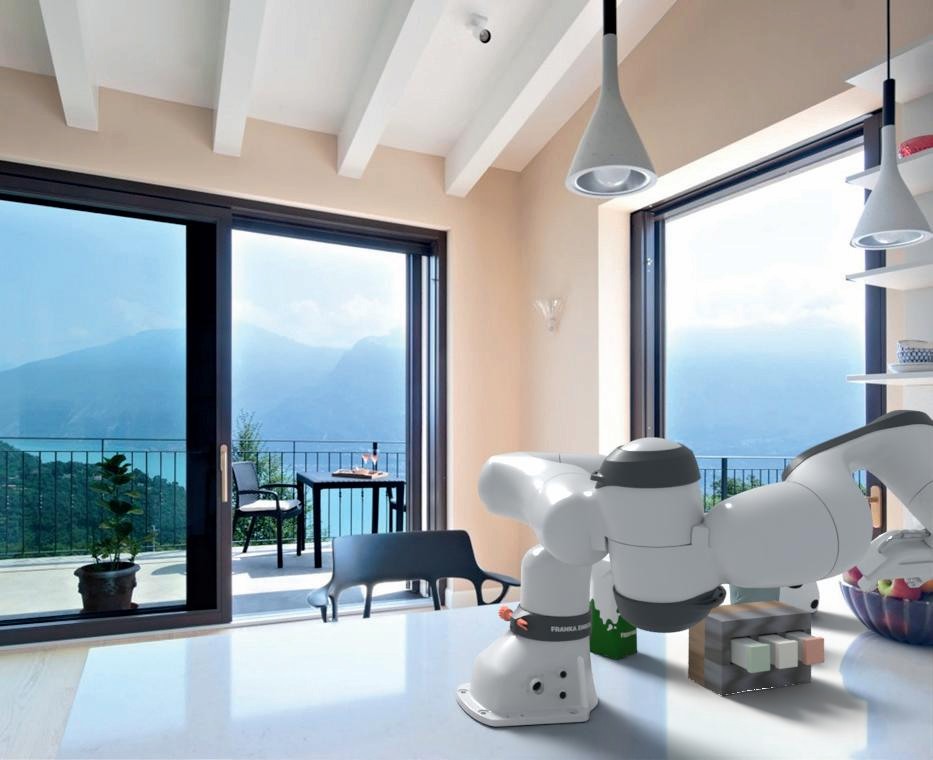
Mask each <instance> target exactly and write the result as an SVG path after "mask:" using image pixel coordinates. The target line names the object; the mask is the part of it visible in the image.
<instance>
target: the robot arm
mask: <svg viewBox="0 0 933 760" xmlns="http://www.w3.org/2000/svg"><path fill="white" fill-rule="evenodd" d="M863 469H864V470H866V471H867V472H869V473H871V474H872V475H873V476H875V478H877V479H878V480H879V481H880V482H881V483H882V484H883V485H884V486H885V487H886V488H887V489H888V490H889V491H890V493H892V494H893V495H894V496H895V497H896V498H897V500H899V501H900V502H901V503H902V505H903V506H904V507H905V508H906V509H907V510H908V511H909V512H910V513H911V515H912V517H911V518H912V519H911V521H912V525H913V528H908V529H907V528H905V529H904V528H903V529H891V530H887V531H886V532H884V533H882V534H881V533H880V535H878V536H877V537H875V538H874V539H873V534H874V519H873V513H872V510H871V507H870V503H869V502H868V500H867V498H866V497H865V495H864V493H863V491H862V490H861V488H860V487H859V485H858V483H857V482H856V480H855V478H854V476H853V474H854V473H857V472H859V471H861V470H863ZM701 479H702V476H701V471H700V468H699V464H698V461H697V458H696V455H695V453H694V452H693V450H692V449H690V448H689V447H688V446H686V445H684V444H683V443H680V442H675V441H672V440H670V439H666V438H661V437H652V436H651V437H642V438H641V437H640V438H637V439H634V440H632V441H629V442H627V443H626V444H621V445H619V446H617V447H616V448H614V449H613V450H612V451H611V452H610V453H609V454H608V455H604V454H599V453H583V452H582V453H579V452H578V453H577V452H576V453H575V452H548V451H547V452H545V451H543V452H542V451H514V452H513V451H512V452H505V453H499V454H495V455H492V456H490V457H489V458H488V459H487V460H486V461H485V463H484V464H483V466H482V467H481V470H480V472H479V475H478V480H477V490H478V496H479V499H480V501H481V503H482V505H483V506H484V508H485V509H486V510H487V512H489V513H490V514H493V515H496V516H499V517H503V518H507V519H510V520H514V521H516V522H518V523H519V522H520V524H521V523H522V524H524V525H526V526H528V527H530V528H532V530H533V531H534V534H535V536H536V539H537V540H538V542H539V543H538V544H535V545H534V546H532V547H531V548H530V549H528V550H527V551H526V553H525V554H524V556H523V557H522V560H521V563H520V564H521V568H520V571H521V572H520V600H519V604H518V605H517V607H516V609H514V611H513V609H511V608H509V607H508V606H506V605H502V606H501V607H500V608H499V609H498V612H497V613H498V616H499V618H500V619H502V620H503V621H505V622H509V629H508V630H506V631H505V632H504V633H503V634H501V635H500V637H498V638H497V639H495V641H494V642H492V643H491V644H490V645H488V646H487V647H486V648H485V649H484V650H482V651H481V652H480V653H478V655H477V656H476V658H475V659H474V662H473V663H474V664H473V667H472V672H471V677H470V682H466V683H462V684H459V685H458V686H457V688H456V695H455V696H456V700H457V703H458V704H459V705H460V707H461V709H463V710H464V712H466V714H468V715H469V716H470V717H472V718H473V719H474V720H476V721H477V722H480V723H482V724H485V725H487V726H492V727H511V726H526V725H527V726H529V725H546V724H561V723H562V724H564V723H581V722H582V723H583V722H587V721H588V720H589V719H590V713H591V711H592V710H594V708H596V706H598V703H599V697H598V695H597V694H598V693H597V691H596V686H595V682H594V678H593V676H594V674H593V669H592V658H591V651H590V639H591V634H592V610H591V609H590V608H589V597H590V581H591V572H592V564H595V563H597V562H599V561H601V560H602V559H603V558H604V557H606V556H607V555H608V553H609V557H610V564H611V569H612V575H613V580H614V586H613V594H614V598H615V601H616V605H617V607H618V610H619V612H620V615H621V617H622V618H623V619H624V620H626V621H627V622H628V623H630V624H631V625H633V626H634V627H636V628H637V629H639V630H642V631H645V632H650V633H658V634H672V633H679V632H685V631H687V630H689V628H691V627H693V626H695V625H696V624H698V623H699V622H700V621H702V620H703V619H704V618H706V617H707V616H708V614H709V613H710V611H711V610H712V609H713V608H715V607H717V606H720V605H723V603H724V602H725V600H726V596H727V594H728V593H727V590H726V588H725V587H724V586H723V585H729V584H731V585H735V586H738V587H743V588H778V587H789V586H796V585H802V584H807V583H811V582H815V581H816V582H819V581H823V580H828V579H831V578H833V577H836V576H840V575H842V574H844V573H846V572H848V571H849V570H852V569H853V568H855V567H856V568H857V570H858V571H859V572H860V574H862V577H861V578H860V579H859V580H858V581H857V586H858V587H859V588H860V590H861V591H862V592H864V593H866V592H874V591H875V590H876V589H877V588H878V587H879V586H880V585H879V583H878V581H885V580H895V579H896V580H898V579H903V581H904V582H905V584H907V586H908V588H911V589H912V588H913V589H914V588H920V587H921V586H923V585H924V584H925V583H927V582H930V581H931V580H933V418H931V417H930V416H929V415H928V414H927V413H926V412H925V411H920V410H913V409H895V410H892V411H889V412H886V413H885V414H883V415H881V416H879V417H877V418H876V419H874V420H872V421H871V422H869V423H868V424H865V425H864V426H861V427H858V428H856V429H854V430H851V431H849V432H848V431H847V432H846V433H843V434H840V435H838V436H835V437H832V438H830V439H828V440H825V441H822V442H820V443H818V444H815V445H813V446H811V447H809V448H808V449H805V450H804V451H802V452H800V453H799V454H798V455H796V457H794V458H793V459H791V461H790V462H789V463H788V464H787V465H786V467H785V469H784V470H783V471H782V473H781V481H779V482H772V483H769V484H765V485H762V486H761V485H760V486H758V487H754V488H751V489H747V490H745V491H743V492H740V493H738V494H737V493H736V494H735V495H732V496H730V497H728V498H725V499H723V500H721V501H719V502H718V503H716V504H714V505H713V506H712V507H711V508H710V509H709V510H708V511H707V512H705V507H704V502H703V501H704V500H703V495H702V491H701V486H700V482H699V481H700V480H701Z"/></svg>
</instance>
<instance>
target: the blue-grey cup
mask: <svg viewBox="0 0 933 760" xmlns="http://www.w3.org/2000/svg"><path fill="white" fill-rule="evenodd" d="M728 585H729V586H728V587H729V601H730V605H731V604H742V603H753V602H763V601H774V600H775V601H778V602H779V596H780V587H778V588H743V587H738V586H735V585H731V584H728Z"/></svg>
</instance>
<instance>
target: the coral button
mask: <svg viewBox="0 0 933 760" xmlns="http://www.w3.org/2000/svg"><path fill="white" fill-rule="evenodd" d="M785 639H788V640H790V641H791V640H795V641H797V642H798V660H800V661H802V662H803V664H805V665H811V666H812V665H815V664H816V665H817V664H823V663H825V638H824V637H822V636H815V635H812V634H811V635H809V634H806V633H804V632H801V631H796V632H787V633H785Z"/></svg>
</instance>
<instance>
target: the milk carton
mask: <svg viewBox="0 0 933 760" xmlns="http://www.w3.org/2000/svg"><path fill="white" fill-rule="evenodd" d="M613 586H614V580H613V575H612V569H611V564H610V557H609V553H608V555H607V556H606V557H604V558H603V559H602V560H601V561H599V562H597V563H595V564H592V572H591V581H590V597H589V608H590V609H591V610H592V634H591V639H590V653H591V652H592V653H595V654H598V655H601V656H605V657H607V658H611V659H614V660H617V661H619V660H621V659H623V658H625V657H628V656H630V655H633V654H635V653H637V652H638V635H637V634H638V632H637V630H638V628H636V627H634V626H633V625H631V624H630V623H628V622H627V621H626V620H624V619H623V618H622V617H621V615H620V612H619V610H618V607H617V605H616V601H615V598H614V594H613Z"/></svg>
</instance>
